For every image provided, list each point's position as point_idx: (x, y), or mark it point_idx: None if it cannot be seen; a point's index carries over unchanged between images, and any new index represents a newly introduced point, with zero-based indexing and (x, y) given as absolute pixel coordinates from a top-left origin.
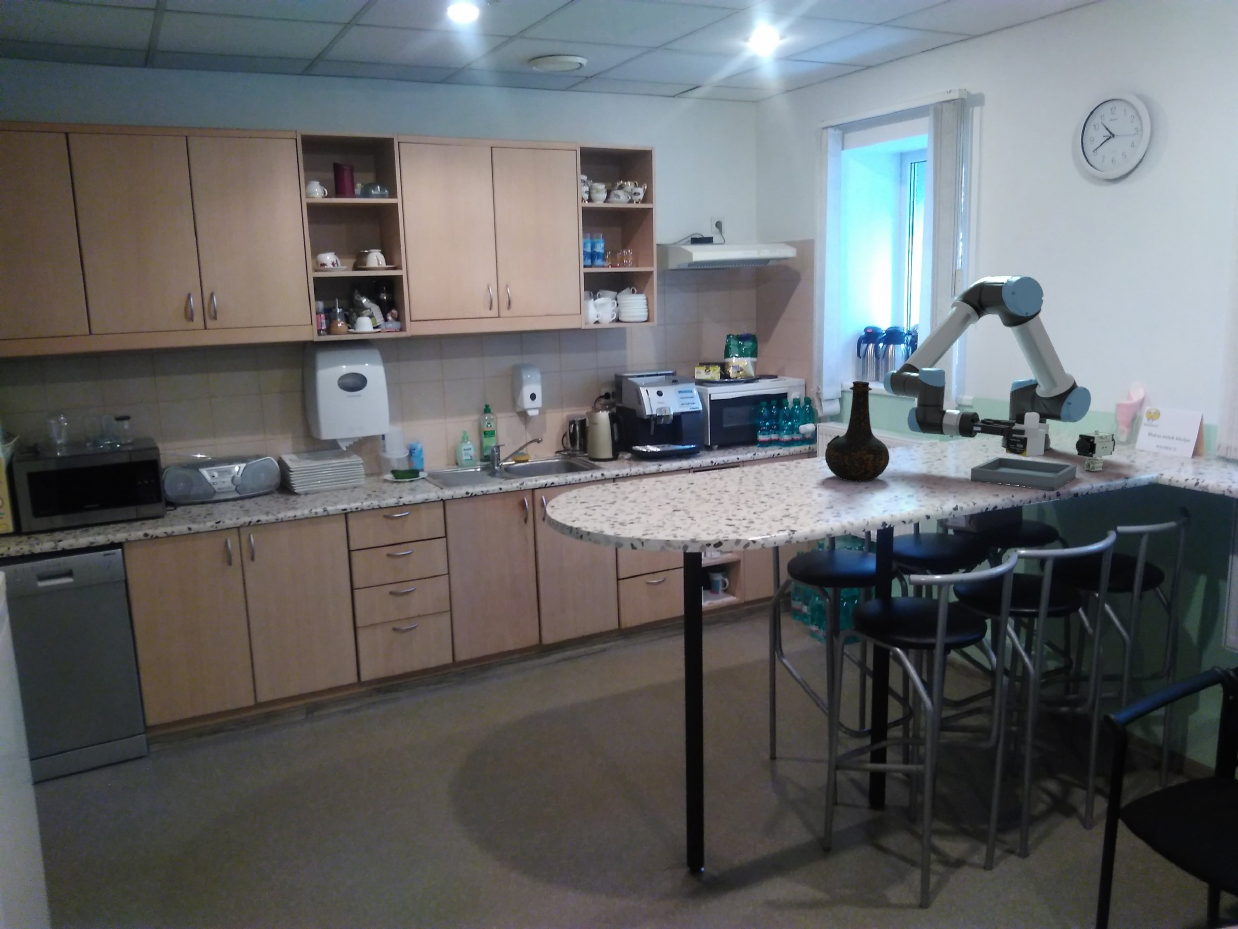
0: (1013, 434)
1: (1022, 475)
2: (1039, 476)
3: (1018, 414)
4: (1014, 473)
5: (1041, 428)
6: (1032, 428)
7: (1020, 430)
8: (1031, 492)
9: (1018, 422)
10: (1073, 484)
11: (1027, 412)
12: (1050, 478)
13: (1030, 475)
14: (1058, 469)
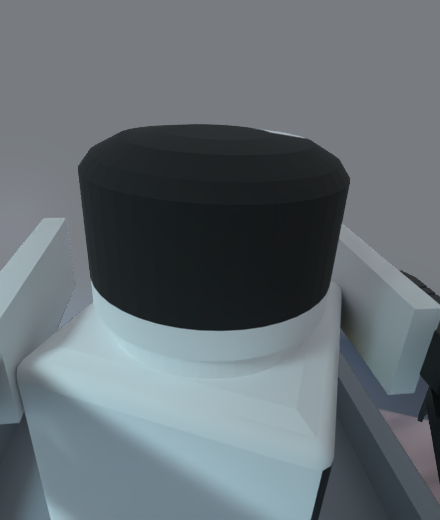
0: (415, 374)
1: (404, 455)
2: (364, 390)
3: (343, 178)
4: (431, 492)
5: (58, 275)
6: (350, 233)
7: (420, 287)
8: (428, 428)
9: (330, 271)
10: None
11: (265, 131)
12: (345, 361)
13: (384, 420)
14: (2, 441)
